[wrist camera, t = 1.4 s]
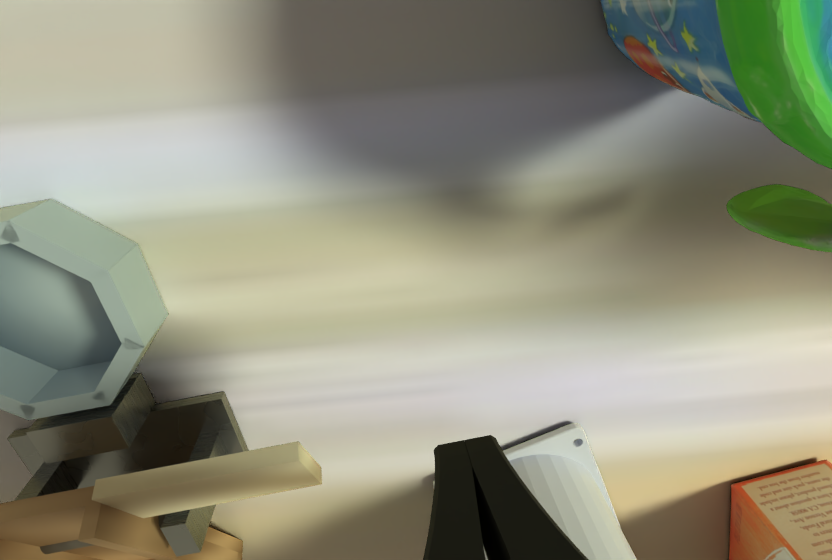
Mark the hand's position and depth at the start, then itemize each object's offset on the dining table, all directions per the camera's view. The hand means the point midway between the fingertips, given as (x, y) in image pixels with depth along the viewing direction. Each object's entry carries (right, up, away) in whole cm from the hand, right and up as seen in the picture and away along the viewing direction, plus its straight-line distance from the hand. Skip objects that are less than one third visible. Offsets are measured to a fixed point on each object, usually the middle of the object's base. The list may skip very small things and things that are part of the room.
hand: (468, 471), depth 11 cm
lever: (-10, -5, +9) cm, 15 cm away
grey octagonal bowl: (-15, +4, +8) cm, 17 cm away
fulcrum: (-14, -3, +11) cm, 18 cm away
